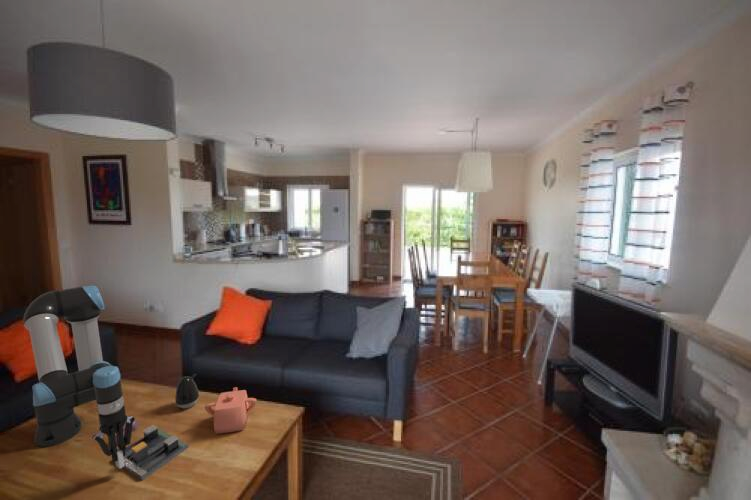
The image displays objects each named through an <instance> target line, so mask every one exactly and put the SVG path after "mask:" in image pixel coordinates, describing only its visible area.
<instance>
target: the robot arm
mask: <svg viewBox="0 0 751 500" xmlns="http://www.w3.org/2000/svg"><path fill="white" fill-rule="evenodd" d="M104 310H105V303H104V300H103V298H102V294H101V293H100V290H99V288H98V287H97V286H95V285H86V286H83V285H82V286H76V287H73V288H72V287H71V288H67V289H59V290H55V291H54V290H53V291H47V292H45V293H42V294H41V295H38V297H36V298H35V299H34V300H33V301H32V302H31V303H30V304H29V305H28V307H27V308H26V310H25V312H24V315H23V321H22V322H23V327H24V328H25V330H27V331H29V332H28V333H29V337H30V341H31V347H32V352H33V358H34V362H35V367H36V372H37V378H38V382H37V383H35V384H34V385H32V386H31V387H32V401H33V402H32V406H33V407H34V411H35V417H36V418H35V419H36V423H37V427H36V430H35V434H34V439H33V440H34V444H35V446H37V447H39V448H45V447H46V448H47V447H51V446H56V445H58V444H62V443H64V442H65V441H68V440H69V439H71V438H73V437H75V436H76V435H77V434H78V433H80V431H81V430H82V428H83V424H82V420H81V419H80V417H78V415H77V414H76V412H75V409H74V408H76V407H79V406H82V405H86V404H88V403H90V402H94V401H96V407H97V413H98V420H99V425H100V426H99V429H98V430H99V431H98V432H97V433H96V434H94V435H92V439H93V440H94V441H96V442H97V444H98V445H99V447H100V449H101V451H102V452H103V453H104V455H106V456H107V457H110V456H111V460H112V461H113V462H114V463H115V466H116V467H117V468H118V469H122V468H123V467H124V459H123V457H124V456H125V454H126V453H125V449H126V448H127V447H128V446H130V445H131V438H132V435H131V432H132V425H133V422H135V419H136V418H135V417H134V416H132V415H129V416H128V415H126V407H125V401H124V394H123V389H122V388H123V387H122V380H121V376H122V375H121V373H120V370H119V367H118V366H116V365H115V366H114V365H112V364H110V363H109V362H108V361H106V360H105V361H104V360H103V351H102V345H101V338H100V330H99V324H98V319H99V317H100V316H101V314H102V313H101V312H102V311H104ZM64 318H65V321H66V322H67V323H69V324H71V329H72V331H71V332H72V336H73V343H74V350H75V356H76V361H77V368H78V371H76V372H73V373H68V368H67V364H66V360H65V359H66V358H65V356H64V352H63V347H62V345H61V340H60V339H61V338H60V335H59V332H58V327H57V324H58V322H59V319H64ZM124 427H125V432H124V436H123V428H124ZM103 434H104V435H106V436H107V440H108V444H107V443H106V442H105V440H104V439H103V438H104V435H103ZM115 437H117V444H116V439H115Z"/></svg>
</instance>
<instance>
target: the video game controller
mask: <svg viewBox="0 0 751 500" xmlns="http://www.w3.org/2000/svg"><path fill="white" fill-rule="evenodd" d="M139 426H140V423H138V422H137V421H134V422H133V425H132V432H131V436H132V435H133V434H134V433H135V431H136V430H137V429H138V428H139ZM124 432H125V426H124V427H123V436H124ZM115 439H116V445H118V443H117V437H116V436H115Z"/></svg>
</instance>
